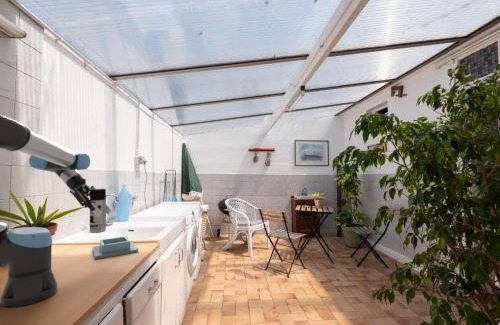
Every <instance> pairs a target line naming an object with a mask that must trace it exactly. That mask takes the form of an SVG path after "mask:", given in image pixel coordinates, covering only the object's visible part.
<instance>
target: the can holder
mask: <svg viewBox="0 0 500 325" xmlns="http://www.w3.org/2000/svg"><path fill="white" fill-rule="evenodd" d="M92 253H93V258H94V260H100V259H105V258H111V257H117V256H121V255H129V254H134V253H139V248H138V247H137V246H136V245H135V243H134V242H133V241H132V240H130V239H129V238H128V236H127V235H126V236H125V235H124V236H118V237H111V238H104V239H99V245H95V246H92Z"/></svg>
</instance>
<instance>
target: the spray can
mask: <svg viewBox="0 0 500 325" xmlns="http://www.w3.org/2000/svg"><path fill="white" fill-rule="evenodd" d="M106 190H107V189H106V188H95V189H91V190H90V196H89V200H90V202H91V203H94V204H95V205H96V207H97V208H98V209H99V210H100V211H101V212H102V213H101V215H100V216H99V217H97V216H96V215H95V214H94V213H93V212H92V211H91V210H90V209H89V233H91V234H98V233H99V234H100V233H105V232H106V229H107V213H106V204H107V192H106Z"/></svg>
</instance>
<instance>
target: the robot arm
mask: <svg viewBox="0 0 500 325" xmlns="http://www.w3.org/2000/svg"><path fill="white" fill-rule="evenodd" d="M0 149H1V150H6V151H9V152H17V151H19V152H21V153H24V154H27V155H30V156H29V159H28V164H29V165H30V167H31V168H33V169H36V170H38V171H40V170H41V171H46V172H51V173H55V175H57V177H59V179H61V181H62V182H63V183H64V184H66V186H67V187H68V189H69V193H70V194H71V195H72V196H74V198H75V200H77V202H78V203H79V204H80V205H81V207H84V208H85V209H87V208H88V209H89V211H90V210H91V211H92V212H93V213H94V214H95V215H96V216H97V217H99V216H100V215H101V213H102V212H101V211H100V210H99V209H98V208H97V207H96V205H95V204H94V203H91V202H90V190H91V189H96V187H95V186H94V185H91V186H89V185H88V184H87V182H86V181H87V180H86V178H85V177H84V176H83V175H81V173H80V172H79V171H82V170H88V168H89V167H90V166H91V157H90V156H89V154H88V153H86V152H75V151H73V150H71V149H69V148H66V147H64V146H63V145H60V144H58V143H55V142H54V141H51V140H50V139H47V138H45V137H43V136H41V135H39V134H37V133H35V132H33V131H31V129H30V128H29V127H28V126H27V125H25V124H23V123H21V122H19V121H17V120H15V119H12V118H10V117H7V116H5V115H2V114H0ZM112 211H113V209H111V207H110V206H109V205H108V204H107V203H106V215H110V213H112ZM52 244H53V240H52V232H51V231H50V230H49V228H45V227H39V226H28V227H27V226H26V227H25V226H24V227H18V228H14V229H11V230H9V228H8V225H7V223H6V222H3V221H0V268H8V269H7V274H8V275H7V281H6V282H5V285H4V288H3V291H2V293H1V296H0V305H1V304H2V305H4V306H10V307H9V308H17V307H16V306H18V307H24V306H27V305H28V304H29V305H32V304H31V303H33V304H35V302H36V303H38V301H39V302H42V301H44V300H46V299H48V298H50V297H52V296H53V295H55V294H56V293H57V291H58V283H57V280H56V278H55V275H54V273H53V271H52V248H53V247H52ZM41 300H42V301H41ZM2 305H1V306H2ZM23 305H24V306H23ZM29 305H28V306H29ZM4 306H3V307H4Z"/></svg>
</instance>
